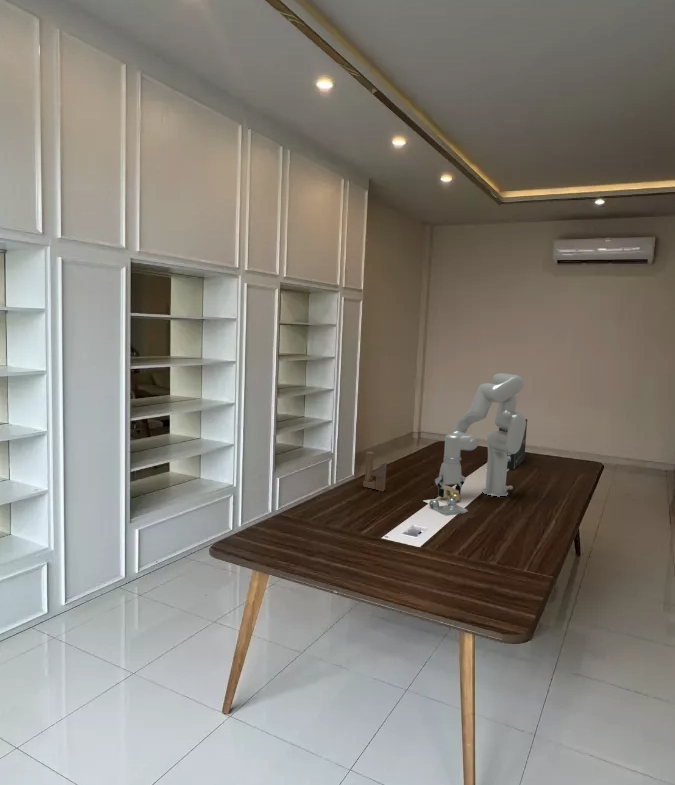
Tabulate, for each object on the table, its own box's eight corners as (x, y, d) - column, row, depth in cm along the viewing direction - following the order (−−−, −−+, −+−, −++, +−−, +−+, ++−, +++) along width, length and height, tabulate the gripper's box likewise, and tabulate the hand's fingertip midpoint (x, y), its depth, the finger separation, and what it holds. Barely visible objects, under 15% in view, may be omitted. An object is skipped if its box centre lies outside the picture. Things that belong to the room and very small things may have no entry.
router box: (507, 457, 375) (510, 416, 372) (524, 459, 370) (528, 418, 367) (495, 467, 343) (498, 423, 341) (514, 470, 338) (517, 425, 335)
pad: (435, 499, 271) (435, 499, 271) (447, 505, 263) (447, 505, 263) (422, 500, 268) (422, 500, 268) (434, 507, 260) (434, 506, 260)
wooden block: (381, 492, 280) (383, 455, 278) (362, 487, 286) (364, 452, 284) (385, 490, 283) (387, 454, 281) (366, 486, 289) (368, 451, 287)
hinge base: (452, 504, 265) (453, 496, 264) (469, 512, 254) (469, 504, 254) (427, 507, 259) (428, 499, 258) (443, 515, 248) (444, 507, 248)
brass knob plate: (446, 495, 280) (447, 485, 279) (461, 502, 269) (462, 492, 269) (438, 496, 278) (438, 486, 277) (453, 503, 267) (453, 493, 267)
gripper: (461, 457, 279) (459, 492, 281) (432, 459, 272) (429, 495, 273) (471, 461, 272) (468, 496, 274) (441, 463, 265) (439, 499, 267)
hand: (449, 495), depth 274 cm, fingers open, 9 cm apart
